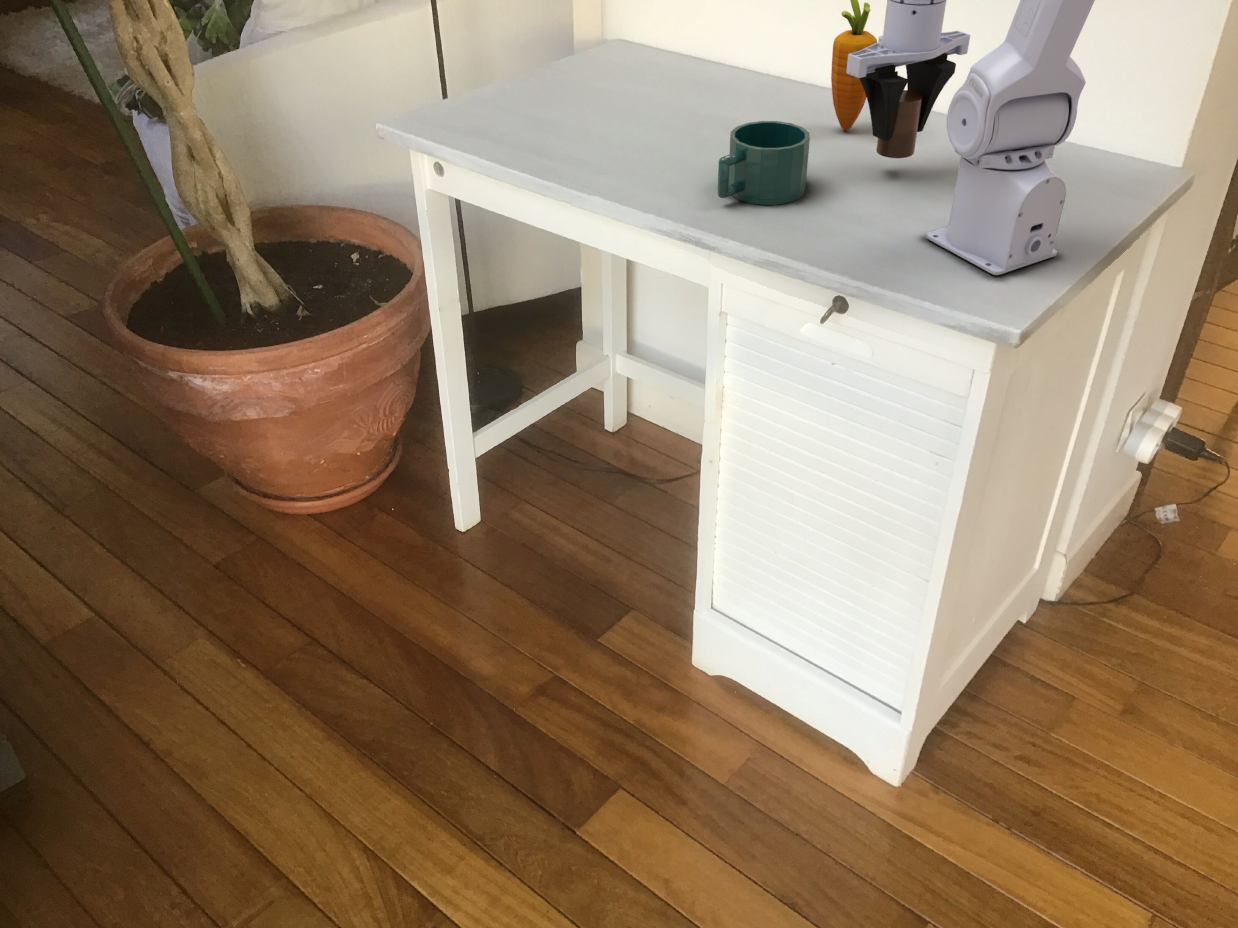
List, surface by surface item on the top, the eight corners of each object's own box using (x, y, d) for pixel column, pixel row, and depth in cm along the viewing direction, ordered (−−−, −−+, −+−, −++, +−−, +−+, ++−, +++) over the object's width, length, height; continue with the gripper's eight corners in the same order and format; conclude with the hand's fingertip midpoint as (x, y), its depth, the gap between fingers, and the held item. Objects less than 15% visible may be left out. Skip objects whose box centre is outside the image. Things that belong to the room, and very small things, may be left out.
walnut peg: (921, 153, 110) (930, 97, 107) (893, 161, 109) (900, 105, 105) (897, 142, 113) (904, 87, 109) (868, 149, 112) (875, 94, 108)
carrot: (866, 139, 121) (883, 5, 112) (823, 137, 122) (836, 4, 112) (866, 124, 125) (883, -7, 115) (825, 123, 125) (838, -8, 116)
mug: (766, 168, 115) (769, 115, 111) (820, 190, 110) (826, 135, 106) (692, 196, 110) (693, 141, 106) (746, 220, 104) (749, 163, 101)
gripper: (944, -21, 107) (924, 109, 115) (833, 0, 102) (820, 135, 110) (993, -7, 102) (969, 128, 110) (880, 16, 97) (863, 156, 105)
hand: (897, 133), depth 110 cm, fingers closed on walnut peg, 4 cm apart
